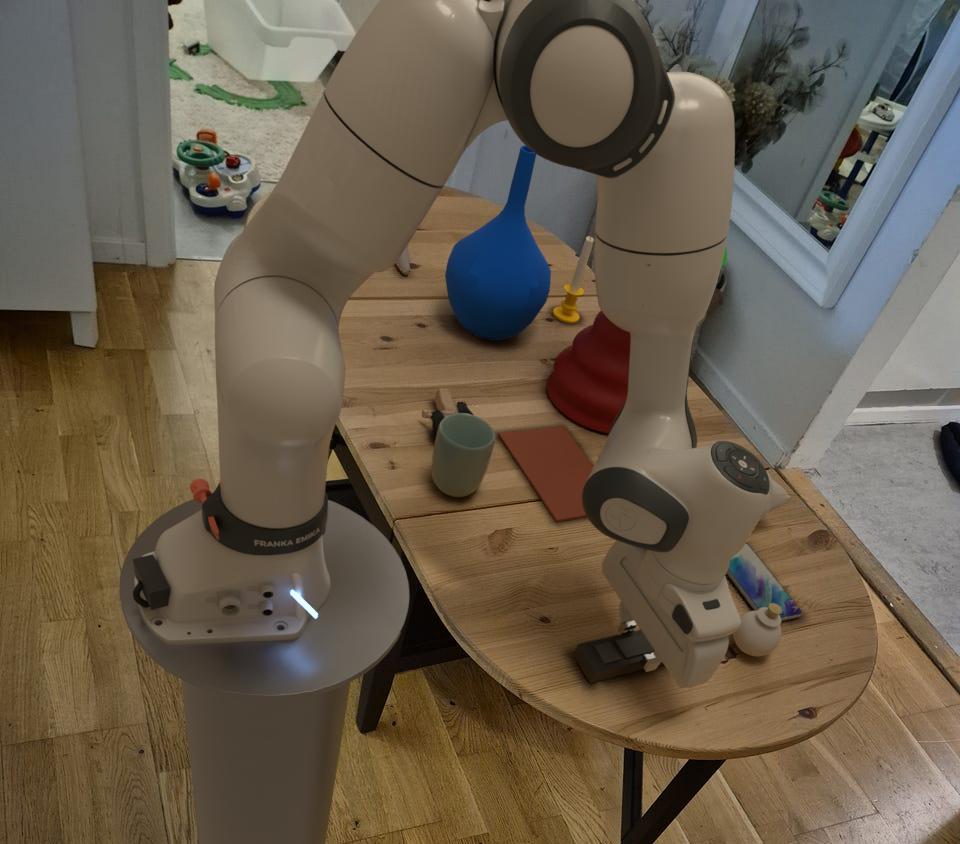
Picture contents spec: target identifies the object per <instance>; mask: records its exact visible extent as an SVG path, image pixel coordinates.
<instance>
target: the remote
mask: <svg viewBox="0 0 960 844" xmlns="http://www.w3.org/2000/svg"><path fill="white" fill-rule="evenodd" d="M654 651H655V650H654V649H653V647H652V646H651V644H650V643H649V641H648V640H647V638H646V637H645V635H644V634H643V632H642V631H641V630H640V629H636V630H634V631H633V632H628V633H625V634H621V633H619V634H616V635H611V636H607V637H603V638H598V639H594V640H590V641H586V642H581V643H578V644H577V645H576V648H575V650H574V652H573V653H572V656H573V658H574V660H575V661H576V662H577V664H578V666H579V668H580V669H581V671H582V672H583V674H584V676H585V678H586V679H587V681H588V682H589V684H593V683H597V682H601V681H605V680H608V679H612V678H616V677H620V676H624V675H628V674H632V673H634V672H639V671H644V668H643V667H642V665H641V663H640V661H641V660H642V657H643V656H644V655H645V654H651V653H653V652H654ZM662 665H664V664H663V662H660V664H659V666H662Z"/></svg>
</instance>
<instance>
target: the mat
mask: <svg viewBox="0 0 960 844" xmlns="http://www.w3.org/2000/svg"><path fill="white" fill-rule="evenodd" d="M498 437H499V439H500V440H501V442H502V444H503V445H504V447H505V448H506V450H507V451H508V453H509V454H510V455H511V457H512V458H513V460H514V462H515V463H516V464H517V466H518V468H519V469H520V470H521V472H522V474H523V476H524V477H525V478H526V479H527V481H528V482H529V484H530V485H531V487H532V489H533V490H534V491H535V493H536V494H537V496H538V497H539V499H540V501H541V502H542V503H543V506H544V507H545V508H546V509H547V511H548V513H549V514H550V515H551V517H552V518H553V520H554V522H555V523H559V522H565V521H572V520H579V519H584V518H588V517H587V516H586V513H585V511H584V508H583V504H582V492H583V488H584V486H585V484H586V482H587V480H588V477H589V475H590V473H591V471H592V469H593V467H594V465H593V463H591V461H590V460H589V458H588V457H587V456H586V455H585V452H584V451H583V450H582V449H581V448H580V446H579V445H578V443H577V442H576V441H575V439H574V438H573V437H572V435H571V434H570V432H569V431H568V430H567V429H566V427H565V426H564V425H561V426H553V427H544V428H532V429H525V430H516V431H515V430H514V431H506V432H499V433H498Z"/></svg>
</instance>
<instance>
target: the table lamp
mask: <svg viewBox="0 0 960 844" xmlns="http://www.w3.org/2000/svg"><path fill="white" fill-rule="evenodd" d="M727 255H728V253H727V246H726V247H725V252H724V257H723V261H722V265H721V268H722V267H723V266H725V264H726V262H727V259H728V258H727ZM630 345H631V337H630V332H627V331H625V330H623V329H621V328H619V327H618V326H616V325H615V324H614V323H612V322H611V321H610V320H609V319H608V318H607V317H606V316H605V315H604V313H603V312H602V310H601V309H600V311H599V312H598V313H597V315H595V317H594V320H593V323H592V324H591V325H588V326H585V327H584V328H582V329H581V330H580V331H579V332H577V333H576V335H575V337H574V338H573V340H572V344H571V345H569V346H567V347H566V348H564V349H563V350H561V351H560V352H559V353H558V354H557V355H556V357H555V359H554V363H553V370H552V372H551V373H550V374H549V376H548V377H547V380H546V391H547V394H548V397H549V399H550V401H551V402H552V403H553V404H554V406H555V407H556V408H557V409H558V410H559V411H560V412H561V413H562V414H563V415H565V416H566V417H567V418H569V419H570V420H572V421H573V422H575V423H577V424H578V425H580V426H582V427H584V428H587V429H590V430H592V431H596V432H599V433H603V434H604V433H605V434H607V435H608V434H609V431H610V429H611V426H612V424H613V421H614V419H615V417H616V416H617V414H618V412H619V411H620V409H621V408H622V406H623V405H624V403H625V402H626V399H627V395H628V380H629V363H630Z"/></svg>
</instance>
